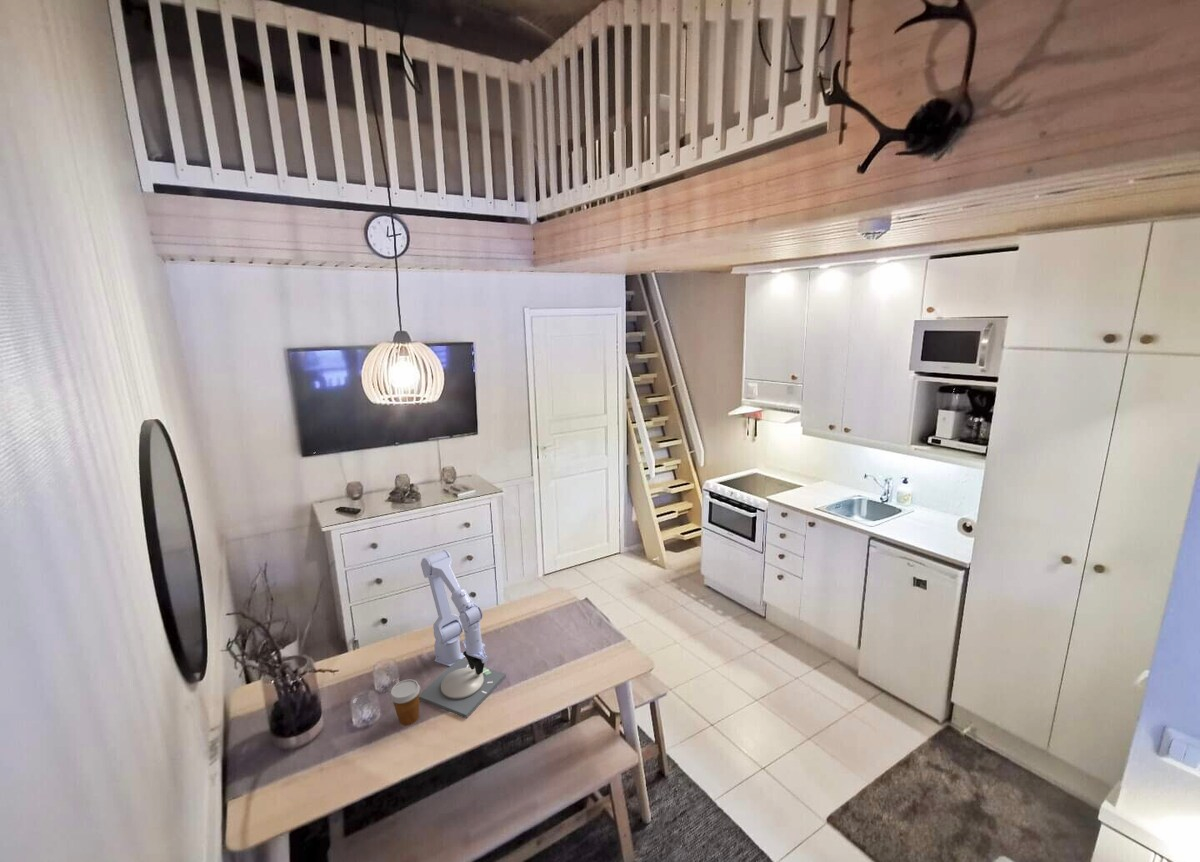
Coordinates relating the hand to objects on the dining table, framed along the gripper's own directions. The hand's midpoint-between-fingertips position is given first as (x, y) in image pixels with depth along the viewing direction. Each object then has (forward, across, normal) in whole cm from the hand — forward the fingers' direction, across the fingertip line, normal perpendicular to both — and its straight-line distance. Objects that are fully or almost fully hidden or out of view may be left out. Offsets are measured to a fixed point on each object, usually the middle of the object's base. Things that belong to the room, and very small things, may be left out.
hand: (476, 670), depth 196 cm
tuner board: (+4, 0, +6) cm, 7 cm away
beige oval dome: (+2, 0, +5) cm, 5 cm away
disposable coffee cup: (+4, 0, +26) cm, 27 cm away
